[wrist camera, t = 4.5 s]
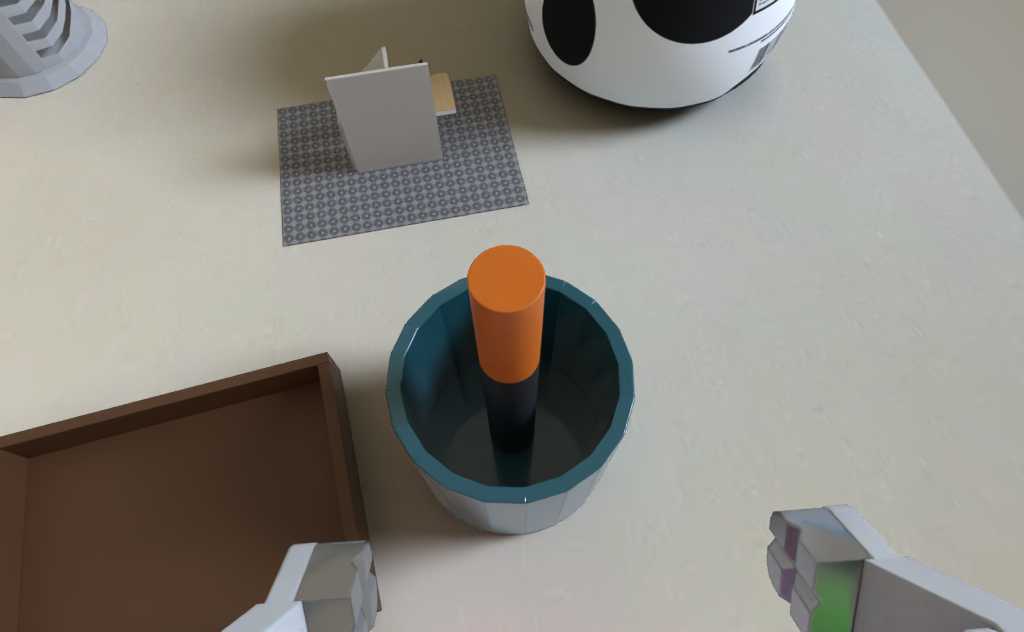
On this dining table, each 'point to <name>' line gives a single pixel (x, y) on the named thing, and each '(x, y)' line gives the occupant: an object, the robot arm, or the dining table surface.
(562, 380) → the pen pot
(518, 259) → the marker
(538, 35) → the doce de leite jar
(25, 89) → the french press
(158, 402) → the tray
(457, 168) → the architectural model
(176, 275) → the dining table surface
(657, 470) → the dining table surface
